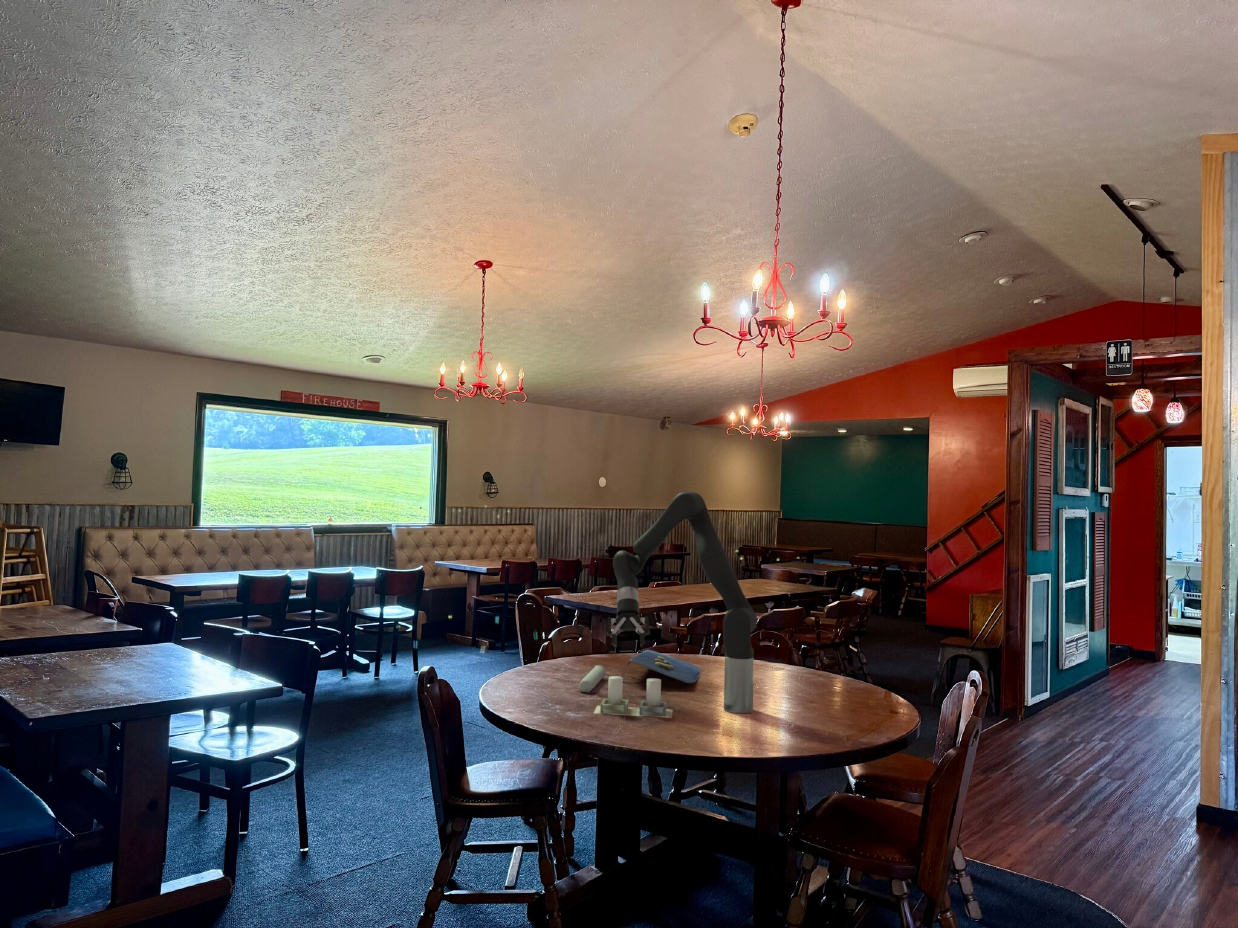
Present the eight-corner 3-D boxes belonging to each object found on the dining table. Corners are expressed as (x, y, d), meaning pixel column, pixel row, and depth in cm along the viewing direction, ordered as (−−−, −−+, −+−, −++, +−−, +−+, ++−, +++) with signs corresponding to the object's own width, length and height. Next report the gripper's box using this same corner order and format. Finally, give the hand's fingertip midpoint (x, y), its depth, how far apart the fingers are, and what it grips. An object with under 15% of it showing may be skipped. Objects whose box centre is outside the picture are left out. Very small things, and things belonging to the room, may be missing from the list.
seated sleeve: (660, 710, 253) (661, 678, 253) (660, 714, 248) (661, 681, 249) (645, 710, 253) (646, 677, 254) (645, 713, 248) (646, 680, 249)
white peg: (622, 708, 254) (623, 676, 254) (621, 712, 249) (622, 679, 250) (608, 707, 254) (609, 675, 255) (606, 711, 250) (607, 678, 250)
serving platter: (634, 669, 337) (643, 642, 338) (697, 692, 332) (705, 665, 332) (615, 684, 293) (625, 654, 294) (686, 712, 288) (696, 680, 288)
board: (672, 714, 255) (672, 701, 255) (671, 722, 245) (672, 709, 245) (597, 710, 257) (597, 697, 257) (593, 718, 247) (593, 704, 247)
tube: (594, 682, 280) (608, 668, 304) (580, 676, 281) (595, 662, 305) (589, 697, 280) (603, 681, 304) (575, 691, 281) (590, 676, 305)
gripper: (606, 597, 273) (605, 640, 262) (648, 596, 272) (649, 639, 261) (607, 609, 278) (607, 652, 268) (649, 608, 278) (650, 650, 267)
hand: (628, 645), depth 264 cm, fingers open, 8 cm apart
